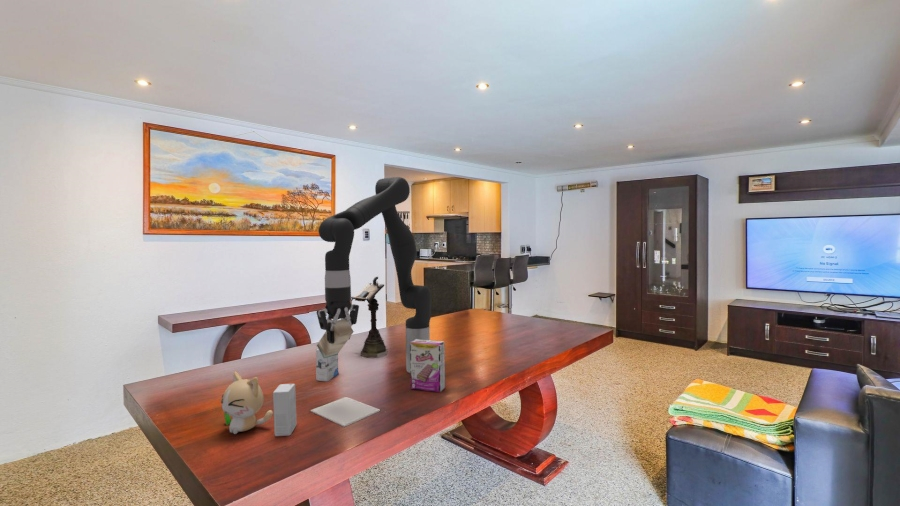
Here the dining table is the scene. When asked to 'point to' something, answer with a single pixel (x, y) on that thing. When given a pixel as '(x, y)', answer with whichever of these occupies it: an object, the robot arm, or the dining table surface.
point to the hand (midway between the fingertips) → (339, 340)
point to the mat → (345, 411)
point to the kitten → (243, 404)
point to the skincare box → (284, 409)
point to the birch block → (335, 339)
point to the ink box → (326, 367)
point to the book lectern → (372, 321)
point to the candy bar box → (427, 365)
